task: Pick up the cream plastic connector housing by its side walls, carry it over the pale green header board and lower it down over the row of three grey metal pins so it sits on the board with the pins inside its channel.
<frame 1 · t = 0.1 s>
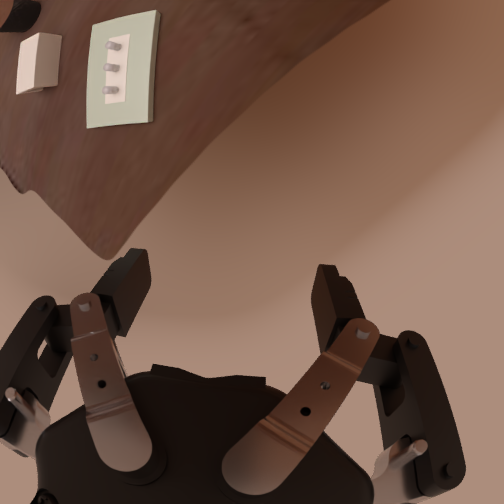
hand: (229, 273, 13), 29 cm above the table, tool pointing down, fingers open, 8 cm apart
header board: (122, 69, 31), on the table
travel mug: (29, 17, 21), on the table
connector housing: (50, 63, 28), on the table
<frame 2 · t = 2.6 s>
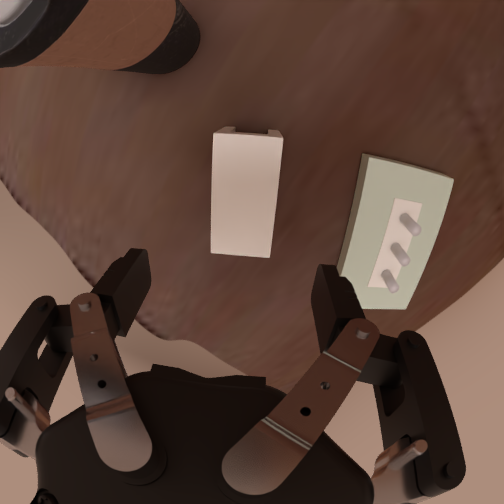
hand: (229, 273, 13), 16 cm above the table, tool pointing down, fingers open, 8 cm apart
header board: (388, 238, 29), on the table
travel mug: (165, 42, 19), on the table
connector housing: (248, 177, 26), on the table
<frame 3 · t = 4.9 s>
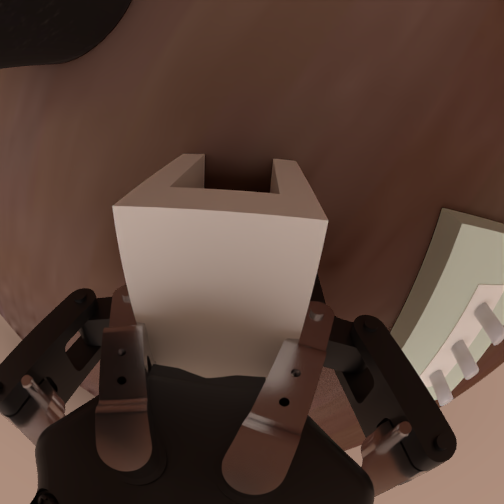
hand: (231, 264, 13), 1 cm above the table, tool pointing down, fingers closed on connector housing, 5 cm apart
header board: (446, 326, 17), on the table
travel mug: (80, 6, 7), on the table
connector housing: (233, 254, 14), on the table, touching gripper
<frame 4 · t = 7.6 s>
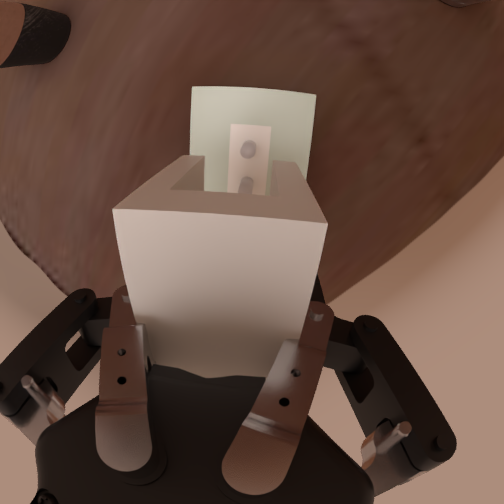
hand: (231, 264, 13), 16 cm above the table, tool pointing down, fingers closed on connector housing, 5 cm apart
header board: (248, 176, 27), on the table
travel mug: (51, 38, 17), on the table
connector housing: (233, 255, 14), point 15 cm above the table, touching gripper
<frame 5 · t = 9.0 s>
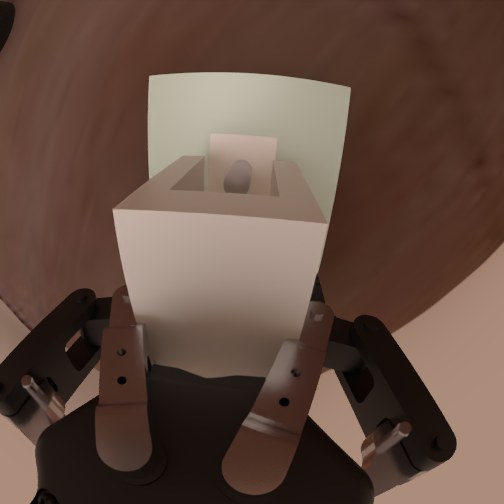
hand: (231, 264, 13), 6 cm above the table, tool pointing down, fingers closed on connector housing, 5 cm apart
header board: (240, 213, 18), on the table
connector housing: (233, 255, 14), point 5 cm above the table, touching gripper
when the fingers open (4 cm above the table, at t = 10.2 s): connector housing stays where it is, resting on header board.
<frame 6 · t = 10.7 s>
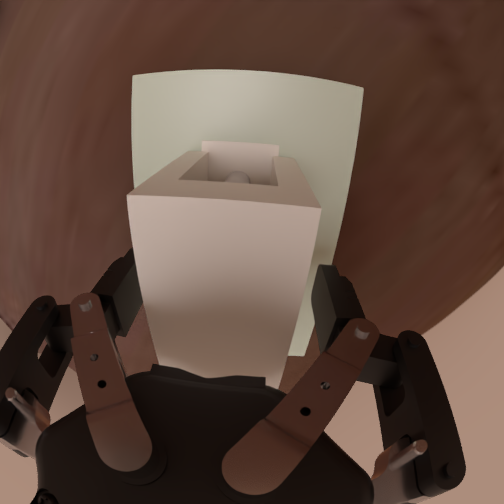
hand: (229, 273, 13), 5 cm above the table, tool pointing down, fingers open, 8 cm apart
header board: (237, 229, 16), on the table
connector housing: (234, 246, 15), point 2 cm above the table, touching header board
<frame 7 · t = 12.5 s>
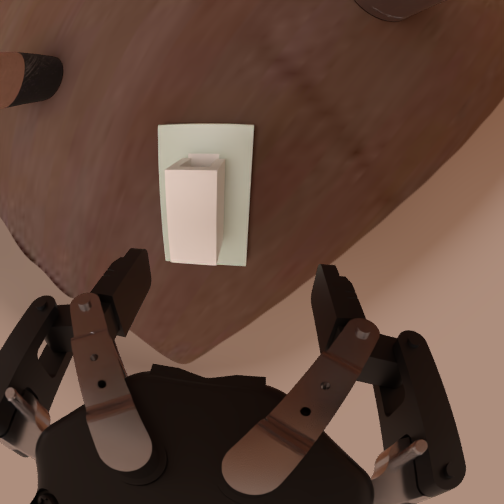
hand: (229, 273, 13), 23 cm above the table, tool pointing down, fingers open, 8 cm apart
header board: (206, 194, 34), on the table
travel mug: (47, 78, 25), on the table
connector housing: (203, 199, 32), point 2 cm above the table, touching header board
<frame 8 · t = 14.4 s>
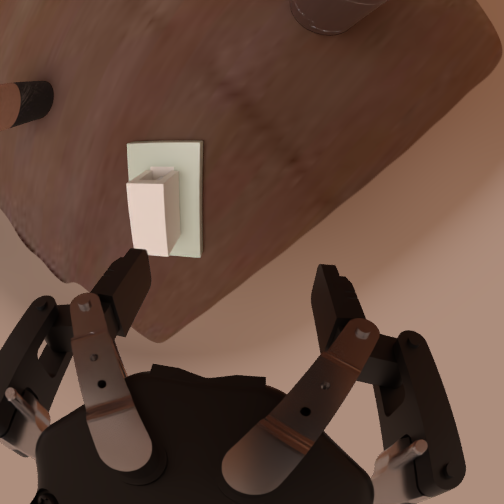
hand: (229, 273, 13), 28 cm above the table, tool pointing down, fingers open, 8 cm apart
header board: (167, 198, 40), on the table
travel mug: (41, 99, 31), on the table
connector housing: (163, 203, 38), point 2 cm above the table, touching header board
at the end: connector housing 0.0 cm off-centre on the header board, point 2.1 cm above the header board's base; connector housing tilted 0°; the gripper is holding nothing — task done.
